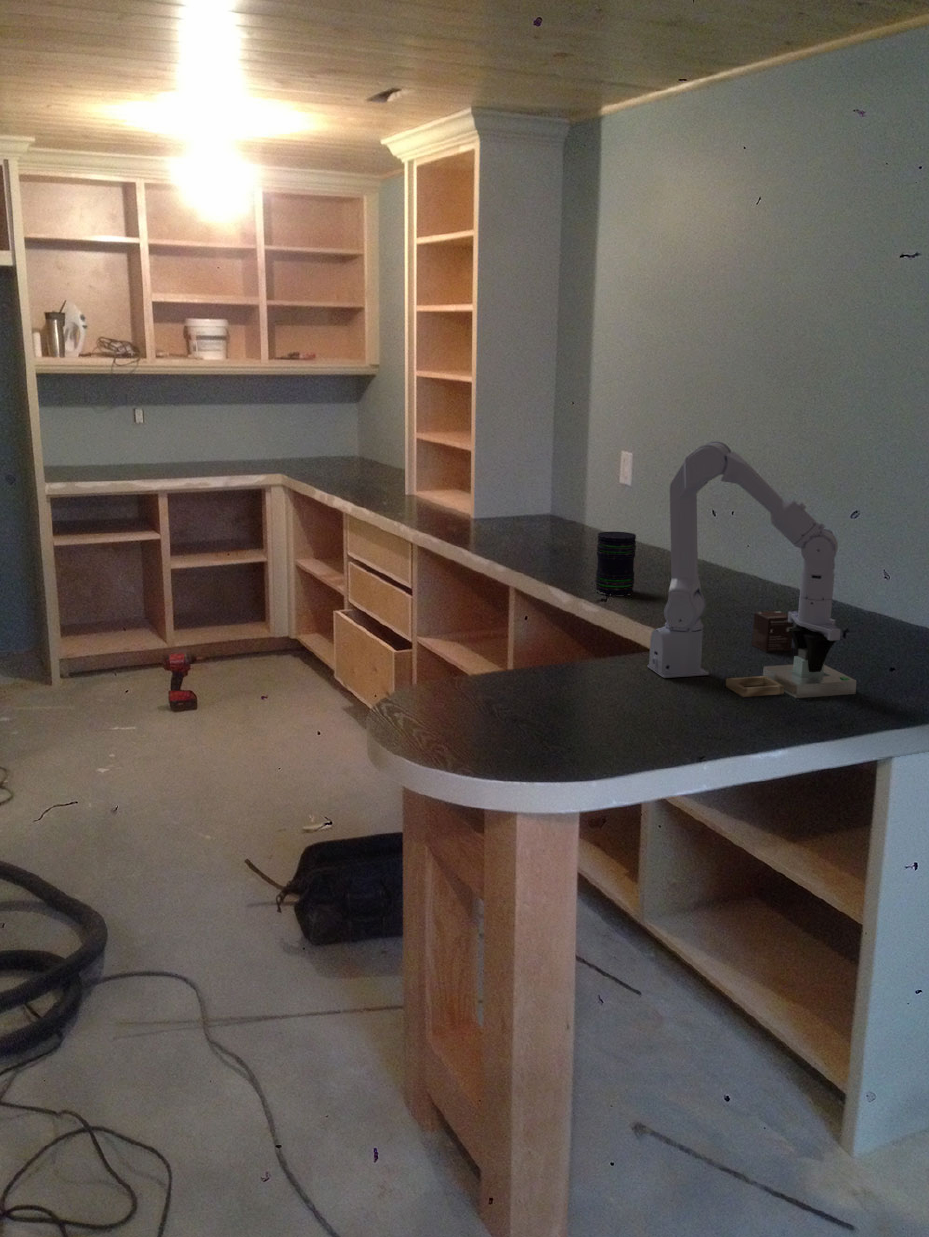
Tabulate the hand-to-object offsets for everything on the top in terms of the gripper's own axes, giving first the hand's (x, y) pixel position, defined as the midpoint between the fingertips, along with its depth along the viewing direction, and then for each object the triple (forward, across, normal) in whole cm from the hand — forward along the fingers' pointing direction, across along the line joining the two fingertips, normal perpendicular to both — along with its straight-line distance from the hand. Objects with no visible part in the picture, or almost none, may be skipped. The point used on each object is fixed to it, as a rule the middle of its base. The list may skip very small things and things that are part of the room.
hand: (809, 668), depth 204 cm
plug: (+3, 0, 0) cm, 3 cm away
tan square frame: (+3, 0, +11) cm, 12 cm away
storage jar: (+4, +84, +5) cm, 84 cm away
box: (+4, +26, -7) cm, 27 cm away
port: (+3, 0, 0) cm, 3 cm away
